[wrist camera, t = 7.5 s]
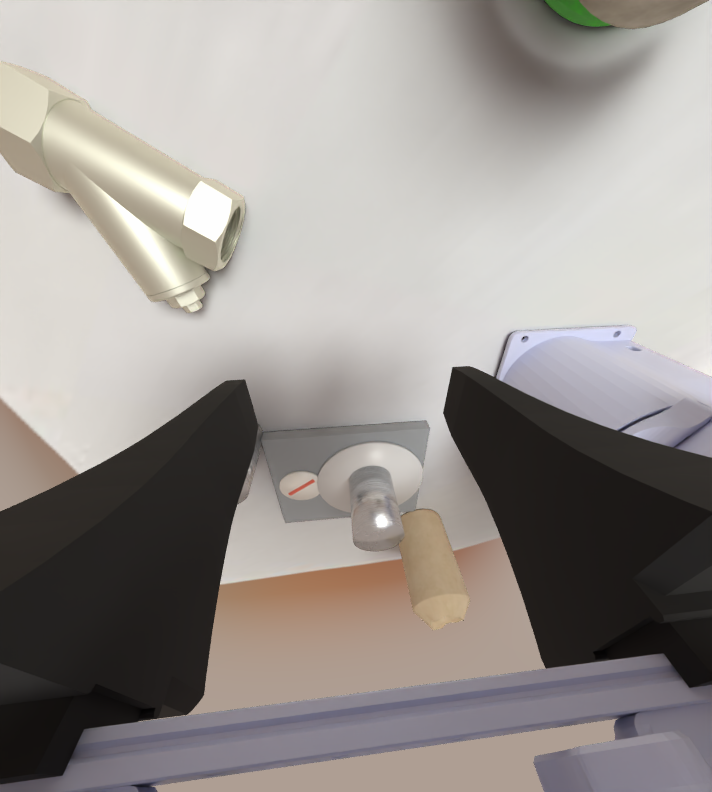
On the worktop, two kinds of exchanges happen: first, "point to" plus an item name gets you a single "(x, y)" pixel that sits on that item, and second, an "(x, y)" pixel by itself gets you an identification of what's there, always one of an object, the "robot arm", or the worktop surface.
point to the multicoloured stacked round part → (622, 11)
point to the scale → (342, 465)
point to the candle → (432, 570)
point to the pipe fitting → (121, 187)
